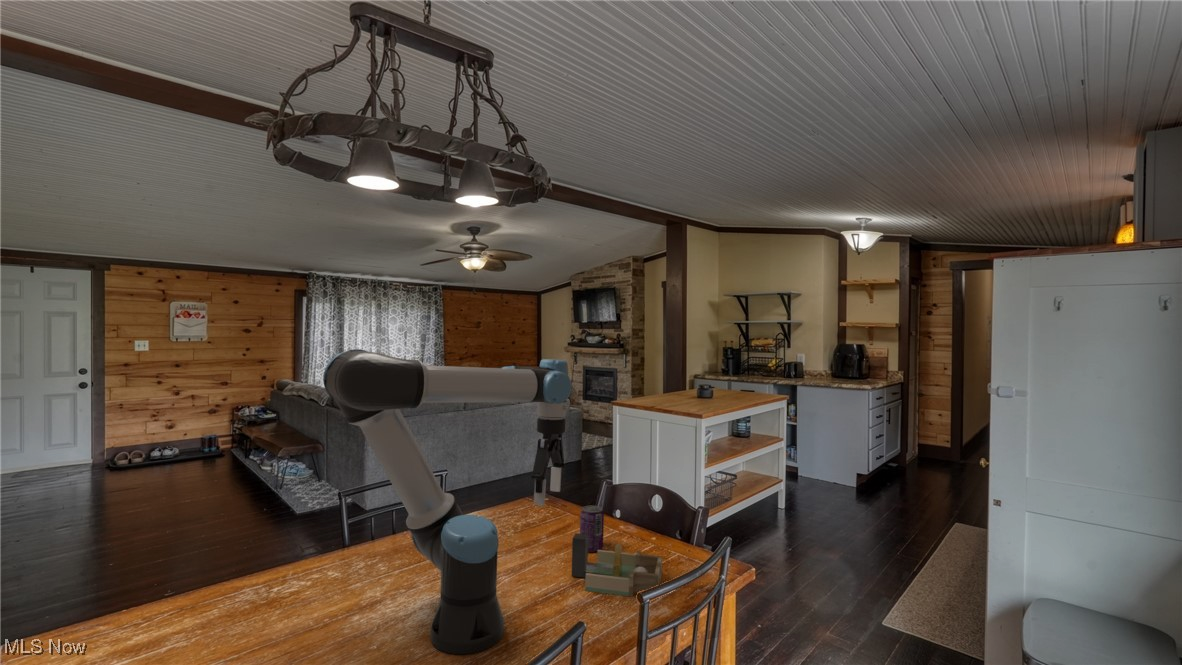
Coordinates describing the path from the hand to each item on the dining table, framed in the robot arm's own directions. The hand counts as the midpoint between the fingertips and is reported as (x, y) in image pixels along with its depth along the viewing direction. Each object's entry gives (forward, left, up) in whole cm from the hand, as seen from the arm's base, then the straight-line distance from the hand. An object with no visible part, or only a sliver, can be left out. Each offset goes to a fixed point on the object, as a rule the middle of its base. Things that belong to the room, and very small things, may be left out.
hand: (547, 497), depth 141 cm
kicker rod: (+3, -13, -20) cm, 25 cm away
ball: (+3, -25, -19) cm, 31 cm away
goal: (+3, -26, -21) cm, 34 cm away
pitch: (+3, -17, -21) cm, 27 cm away
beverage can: (+21, -8, -21) cm, 31 cm away
